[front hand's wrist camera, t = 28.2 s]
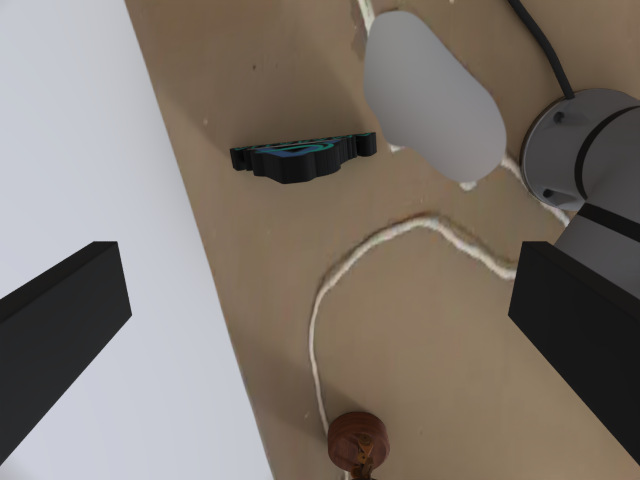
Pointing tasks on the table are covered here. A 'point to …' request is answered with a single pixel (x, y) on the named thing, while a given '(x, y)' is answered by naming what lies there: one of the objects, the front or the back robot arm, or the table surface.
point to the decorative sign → (302, 157)
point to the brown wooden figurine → (358, 444)
